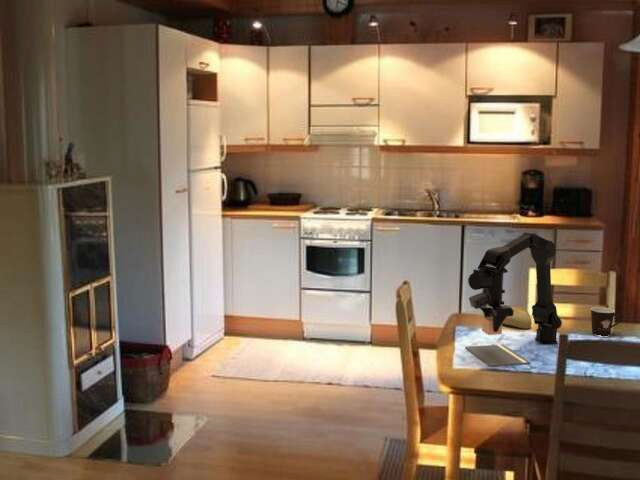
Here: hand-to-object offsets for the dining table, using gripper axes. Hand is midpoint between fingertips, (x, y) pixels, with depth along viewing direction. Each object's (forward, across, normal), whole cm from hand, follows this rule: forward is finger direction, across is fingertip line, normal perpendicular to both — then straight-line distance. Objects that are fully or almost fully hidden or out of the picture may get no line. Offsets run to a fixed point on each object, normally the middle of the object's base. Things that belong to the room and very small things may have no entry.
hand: (491, 329), depth 254 cm
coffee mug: (+10, -15, +56) cm, 59 cm away
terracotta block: (+1, 0, 0) cm, 1 cm away
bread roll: (+10, -34, +27) cm, 44 cm away
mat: (+10, 0, +2) cm, 10 cm away
